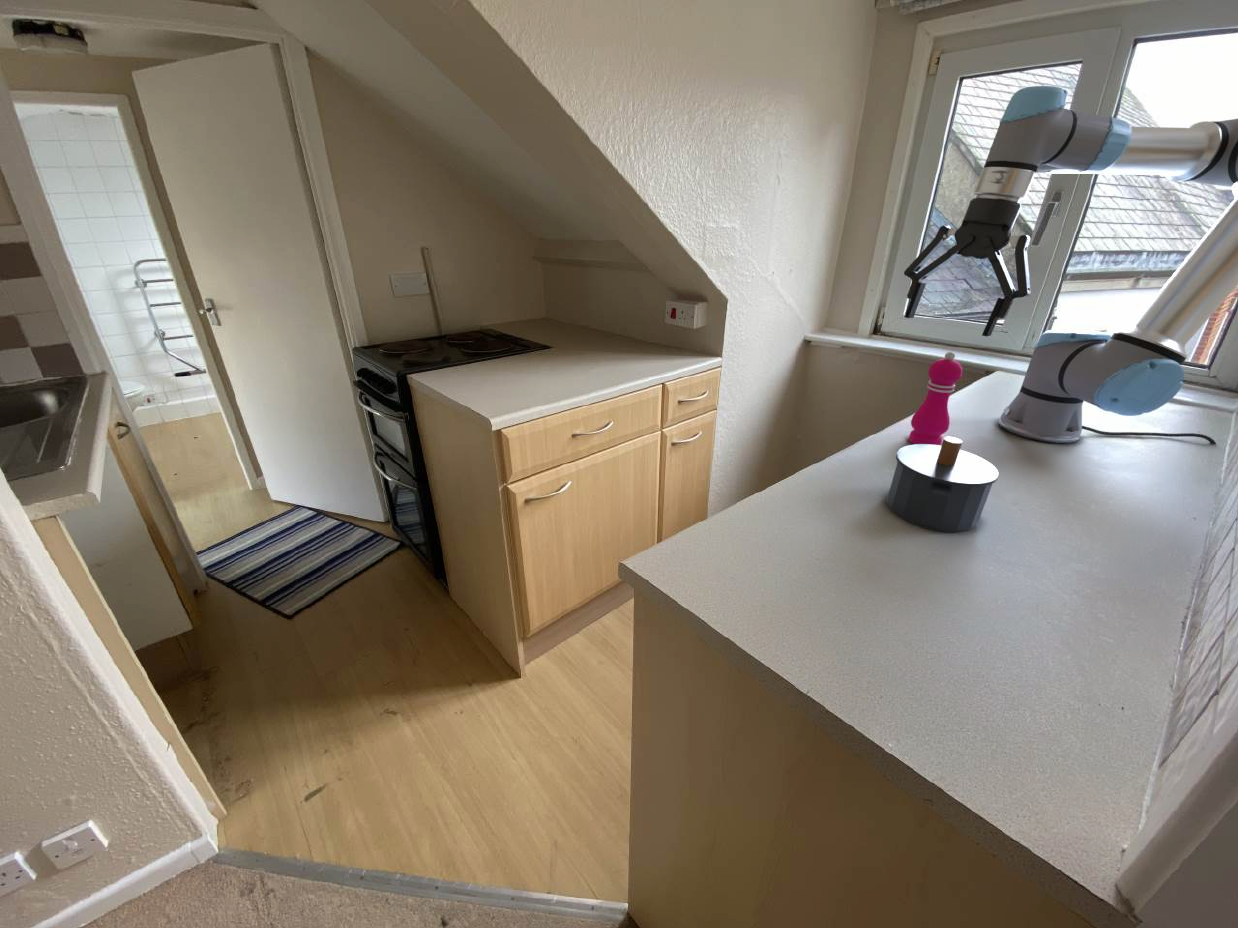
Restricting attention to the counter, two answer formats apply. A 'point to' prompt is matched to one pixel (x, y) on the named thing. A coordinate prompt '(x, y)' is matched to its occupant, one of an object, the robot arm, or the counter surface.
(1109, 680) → the counter surface
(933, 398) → the pepper mill
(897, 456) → the pot lid
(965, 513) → the pot
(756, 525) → the counter surface
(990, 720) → the counter surface
